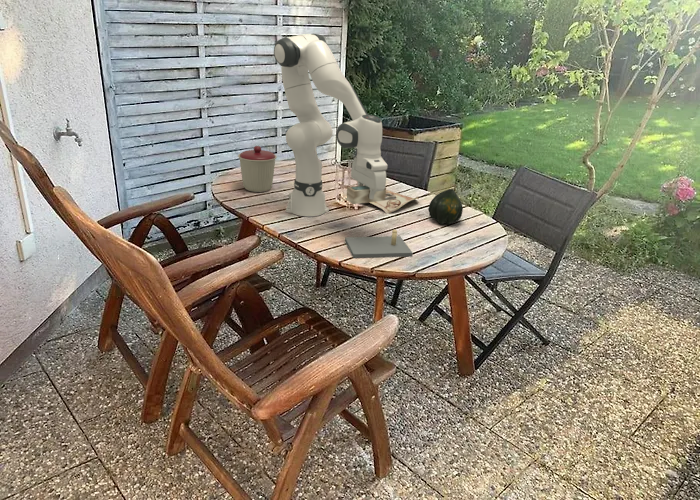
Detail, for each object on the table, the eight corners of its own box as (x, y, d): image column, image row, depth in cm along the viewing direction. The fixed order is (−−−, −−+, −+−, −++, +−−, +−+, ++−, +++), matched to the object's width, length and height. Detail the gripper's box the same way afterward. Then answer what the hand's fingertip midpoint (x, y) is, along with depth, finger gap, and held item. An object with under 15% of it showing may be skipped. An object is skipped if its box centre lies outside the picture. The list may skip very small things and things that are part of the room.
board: (344, 240, 203) (345, 222, 200) (399, 239, 207) (401, 222, 204) (353, 258, 188) (354, 238, 185) (412, 256, 193) (414, 237, 190)
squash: (424, 213, 221) (451, 189, 218) (420, 203, 235) (446, 180, 232) (447, 236, 225) (474, 212, 221) (441, 225, 239) (467, 202, 235)
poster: (423, 208, 255) (374, 192, 272) (426, 196, 253) (376, 180, 270) (390, 217, 234) (339, 199, 251) (392, 204, 232) (341, 186, 249)
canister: (232, 186, 258) (231, 143, 250) (266, 182, 268) (266, 140, 260) (247, 196, 245) (247, 151, 237) (283, 192, 254) (283, 148, 246)
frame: (353, 204, 197) (354, 190, 195) (346, 199, 201) (347, 186, 199) (396, 199, 206) (397, 186, 203) (388, 195, 210) (389, 182, 208)
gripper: (347, 154, 203) (346, 189, 209) (375, 167, 187) (372, 204, 192) (362, 153, 206) (360, 187, 211) (390, 166, 190) (387, 203, 195)
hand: (366, 196), depth 202 cm, fingers closed on frame, 5 cm apart
